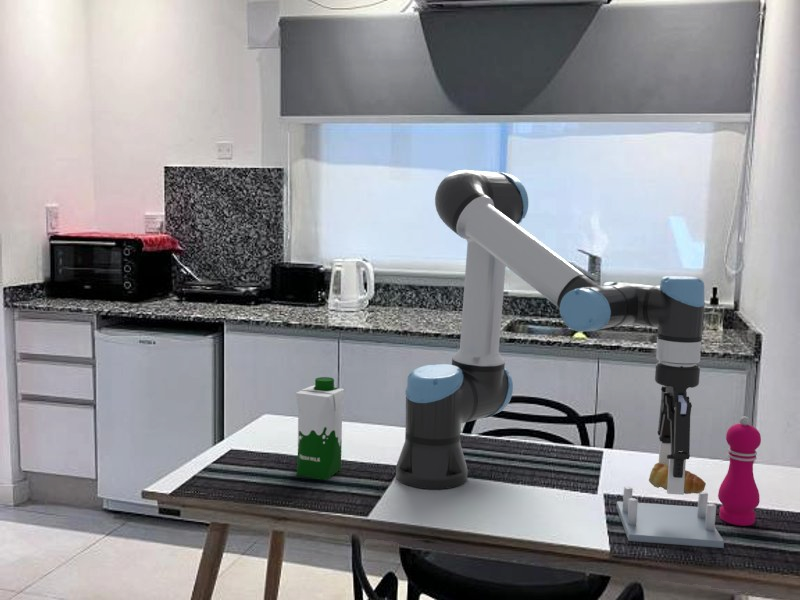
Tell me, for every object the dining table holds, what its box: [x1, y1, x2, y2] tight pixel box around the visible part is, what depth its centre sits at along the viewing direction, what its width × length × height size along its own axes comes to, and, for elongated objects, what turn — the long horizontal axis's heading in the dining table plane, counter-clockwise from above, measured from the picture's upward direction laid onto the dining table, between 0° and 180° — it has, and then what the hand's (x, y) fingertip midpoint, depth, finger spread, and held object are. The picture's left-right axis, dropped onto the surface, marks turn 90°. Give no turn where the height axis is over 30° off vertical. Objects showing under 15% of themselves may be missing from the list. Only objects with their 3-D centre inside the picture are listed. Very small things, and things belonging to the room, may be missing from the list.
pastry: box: [648, 462, 706, 495], centre depth 148 cm, size 9×7×4 cm
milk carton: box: [295, 376, 345, 481], centre depth 173 cm, size 9×9×20 cm
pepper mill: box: [717, 415, 762, 527], centre depth 153 cm, size 7×7×20 cm
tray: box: [615, 486, 725, 549], centre depth 150 cm, size 16×16×6 cm
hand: (670, 485), depth 149 cm, fingers closed on pastry, 8 cm apart
